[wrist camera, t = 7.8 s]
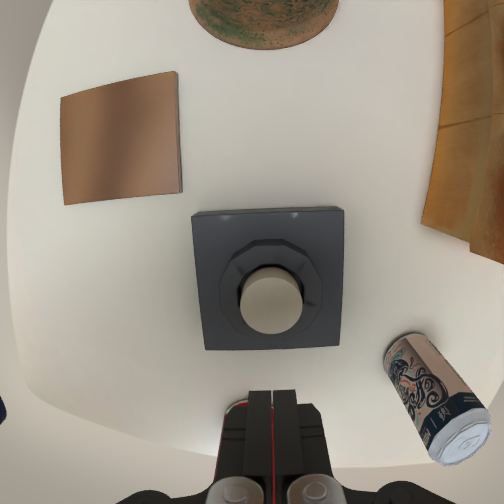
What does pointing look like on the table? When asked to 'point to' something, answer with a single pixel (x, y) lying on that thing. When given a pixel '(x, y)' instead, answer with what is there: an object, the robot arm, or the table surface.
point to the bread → (471, 130)
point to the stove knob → (271, 300)
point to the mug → (264, 21)
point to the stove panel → (269, 255)
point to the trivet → (121, 140)
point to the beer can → (437, 400)
